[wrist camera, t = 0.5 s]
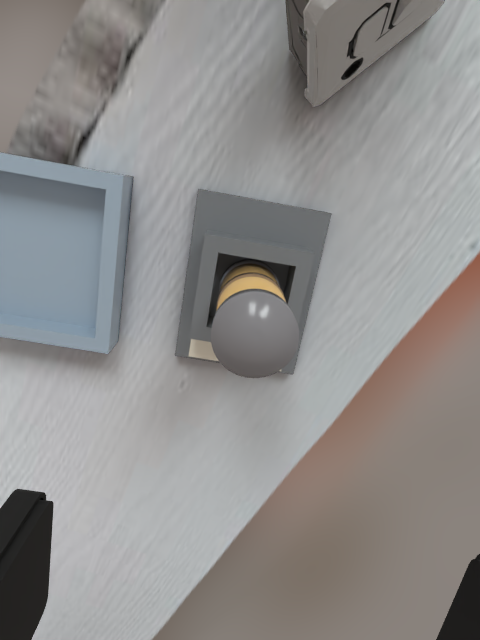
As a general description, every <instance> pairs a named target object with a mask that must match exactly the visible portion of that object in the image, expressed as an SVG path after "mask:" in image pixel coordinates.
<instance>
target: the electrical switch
mask: <svg viewBox="0 0 480 640" xmlns="http://www.w3.org/2000/svg"><path fill="white" fill-rule="evenodd" d="M444 1H445V0H286V13H287V25H288V38H289V50H290V51H291V52H292V54H293V55H294V56H295V58H296V59H297V60H298V62H299V63H300V64H299V66H300V67H301V69H302V70H303V72H304V73H305V75H306V76H307V88H305V98H306V99H307V100H308V101H309V103H310V104H311V105H312V106H313V107H316V106H320V105H321V104H322V103H324V102H325V101H326V100H327V99H329V98H330V97H331V96H332V95H334V94H335V93H336V92H337V91H339V90H340V89H341V88H342V87H344V86H345V85H346V84H347V83H349V82H350V81H351V80H352V79H354V78H355V77H356V76H358V75H359V74H360V73H361V72H363V71H364V70H365V69H366V68H368V67H369V66H370V65H371V64H373V63H374V62H375V61H376V60H378V59H379V58H380V57H381V56H383V55H384V54H385V53H386V52H388V51H389V50H390V49H391V48H393V47H394V46H395V45H396V44H398V43H399V42H400V41H401V40H403V39H404V38H405V37H406V36H408V35H409V34H410V33H411V32H413V31H414V30H415V29H416V28H418V27H419V26H420V25H421V24H423V23H424V22H425V21H426V20H428V19H429V18H430V17H431V16H432V15H434V14H435V13H436V12H437V10H438V9H439V8H440V7H441V6H442V4H443V3H444ZM302 30H303V31H304V33H303V31H302ZM301 39H302V40H301Z"/></svg>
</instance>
